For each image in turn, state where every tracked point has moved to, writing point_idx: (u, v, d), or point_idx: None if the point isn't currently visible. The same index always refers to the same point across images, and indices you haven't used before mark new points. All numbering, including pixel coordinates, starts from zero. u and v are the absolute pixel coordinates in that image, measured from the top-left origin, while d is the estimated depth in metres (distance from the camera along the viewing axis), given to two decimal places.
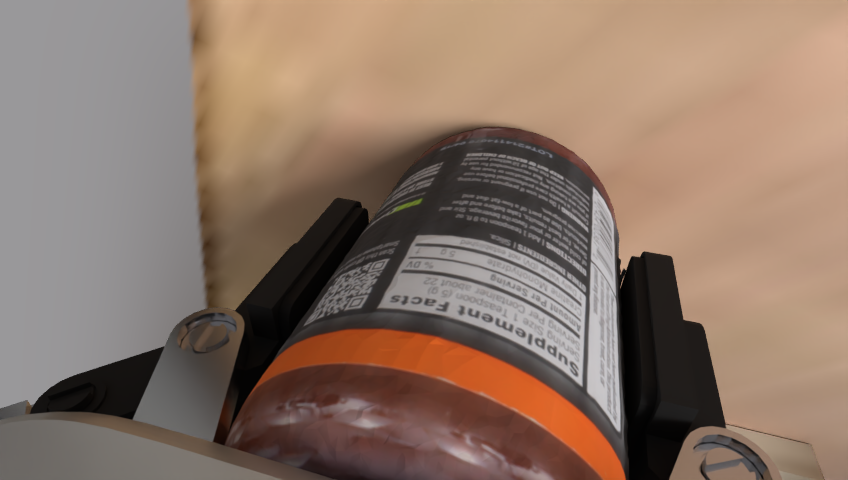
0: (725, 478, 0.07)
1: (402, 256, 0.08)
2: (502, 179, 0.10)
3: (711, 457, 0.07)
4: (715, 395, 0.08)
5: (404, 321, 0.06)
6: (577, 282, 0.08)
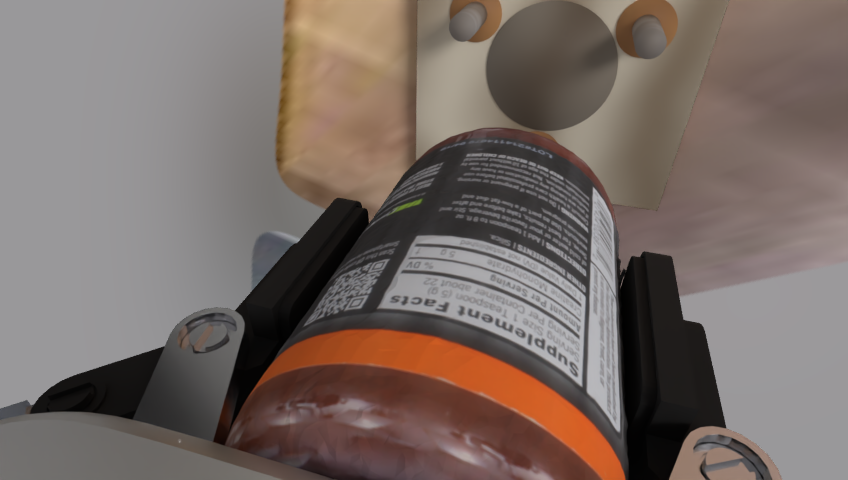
0: (726, 478, 0.07)
1: (402, 256, 0.08)
2: (502, 180, 0.10)
3: (711, 457, 0.07)
4: (714, 395, 0.08)
5: (403, 322, 0.06)
6: (578, 282, 0.08)
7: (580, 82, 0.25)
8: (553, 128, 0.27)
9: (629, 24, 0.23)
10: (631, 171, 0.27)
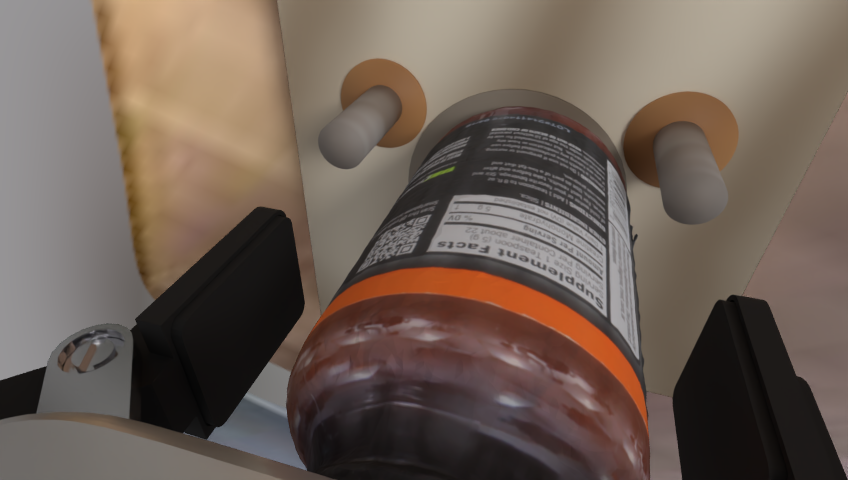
0: None
1: (443, 212, 0.09)
2: (526, 149, 0.11)
3: None
4: (838, 471, 0.07)
5: (452, 260, 0.07)
6: (598, 236, 0.09)
7: None
8: None
9: (648, 135, 0.13)
10: (647, 347, 0.17)
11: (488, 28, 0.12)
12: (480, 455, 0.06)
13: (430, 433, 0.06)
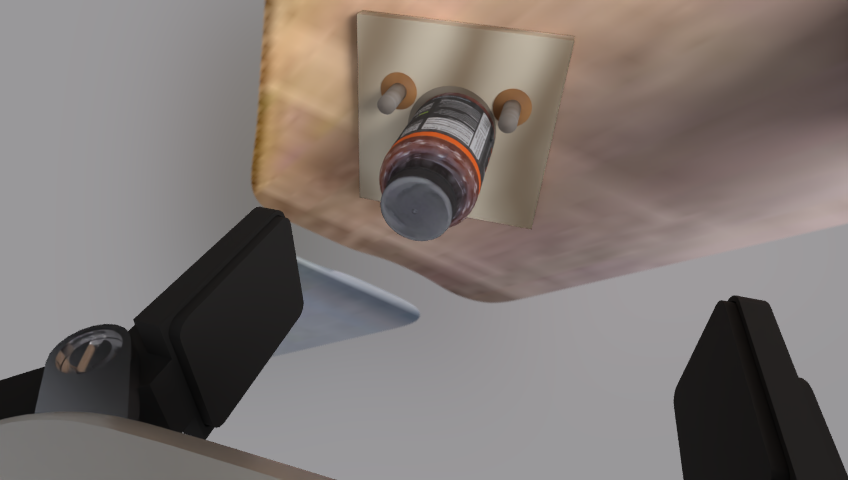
0: None
1: (425, 121, 0.29)
2: (452, 106, 0.31)
3: None
4: (841, 473, 0.07)
5: (428, 130, 0.28)
6: (471, 130, 0.30)
7: None
8: None
9: (501, 105, 0.34)
10: (511, 201, 0.38)
11: (441, 62, 0.33)
12: (434, 166, 0.27)
13: (423, 162, 0.27)
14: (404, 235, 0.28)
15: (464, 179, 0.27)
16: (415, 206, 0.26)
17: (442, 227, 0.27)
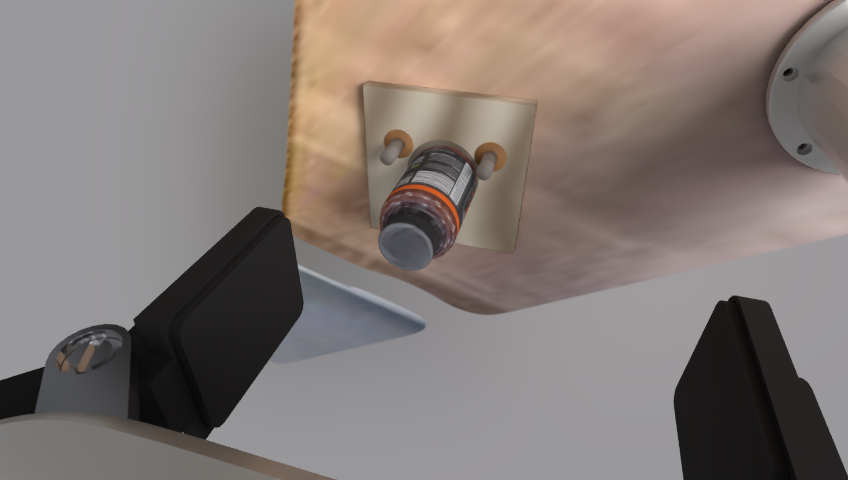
0: None
1: (415, 174, 0.37)
2: (439, 159, 0.39)
3: None
4: (841, 473, 0.07)
5: (416, 183, 0.36)
6: (452, 180, 0.37)
7: None
8: None
9: (481, 155, 0.41)
10: (495, 231, 0.45)
11: (431, 122, 0.41)
12: (419, 213, 0.34)
13: (410, 210, 0.34)
14: (397, 266, 0.35)
15: (443, 222, 0.35)
16: (404, 244, 0.34)
17: (426, 260, 0.34)
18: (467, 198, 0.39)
